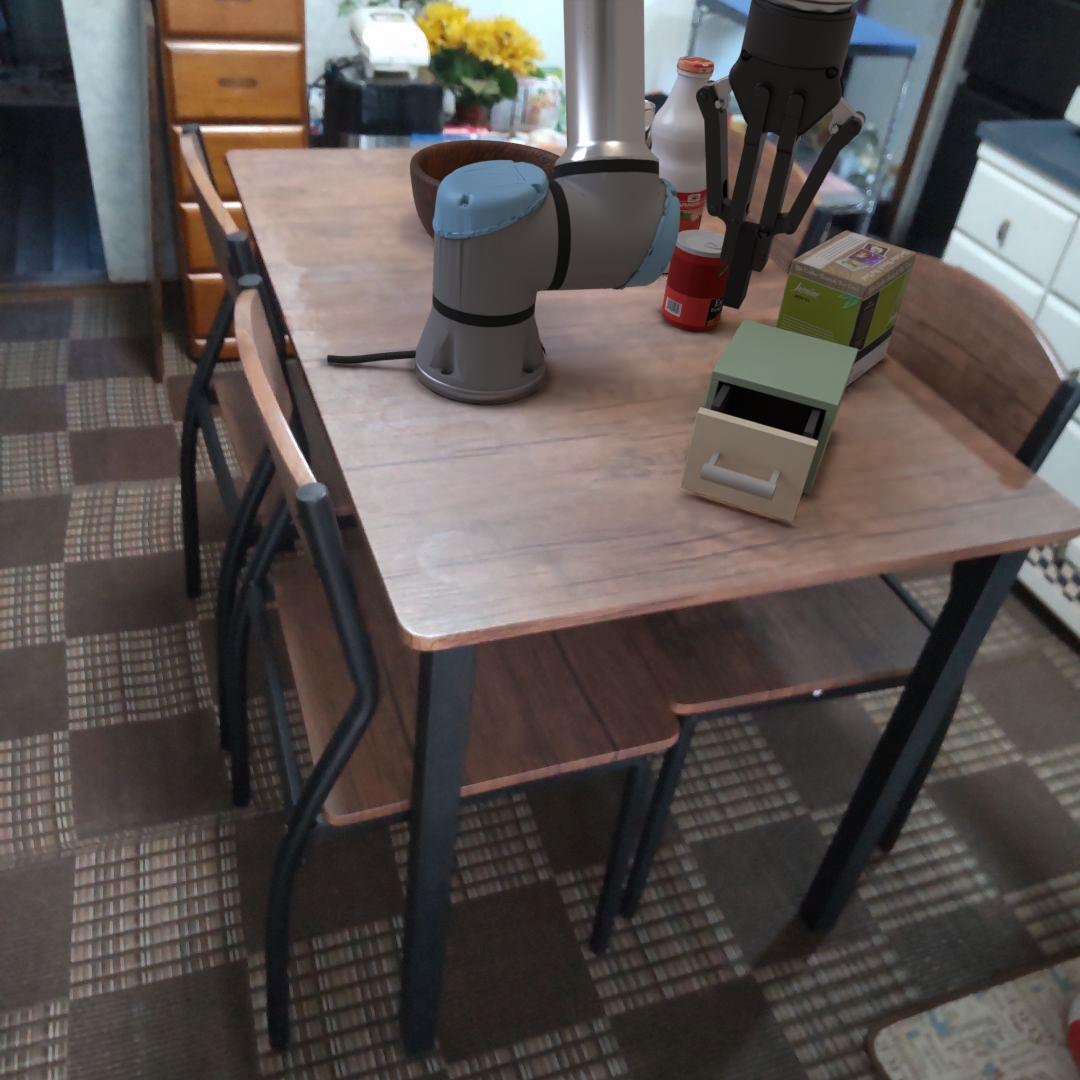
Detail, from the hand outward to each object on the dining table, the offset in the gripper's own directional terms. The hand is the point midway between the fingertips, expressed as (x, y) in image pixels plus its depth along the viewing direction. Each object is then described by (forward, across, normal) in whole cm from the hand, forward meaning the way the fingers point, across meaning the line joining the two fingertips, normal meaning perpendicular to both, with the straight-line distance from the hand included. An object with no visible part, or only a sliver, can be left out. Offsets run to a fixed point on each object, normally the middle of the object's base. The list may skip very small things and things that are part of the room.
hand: (733, 300), depth 86 cm
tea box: (+24, -8, -39) cm, 47 cm away
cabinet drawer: (+22, -5, -5) cm, 23 cm away
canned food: (+25, +11, -42) cm, 50 cm away
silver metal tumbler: (+27, +34, -83) cm, 94 cm away
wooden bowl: (+26, +45, -53) cm, 75 cm away
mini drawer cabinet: (+23, -5, -15) cm, 28 cm away
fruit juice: (+26, +20, -59) cm, 67 cm away
